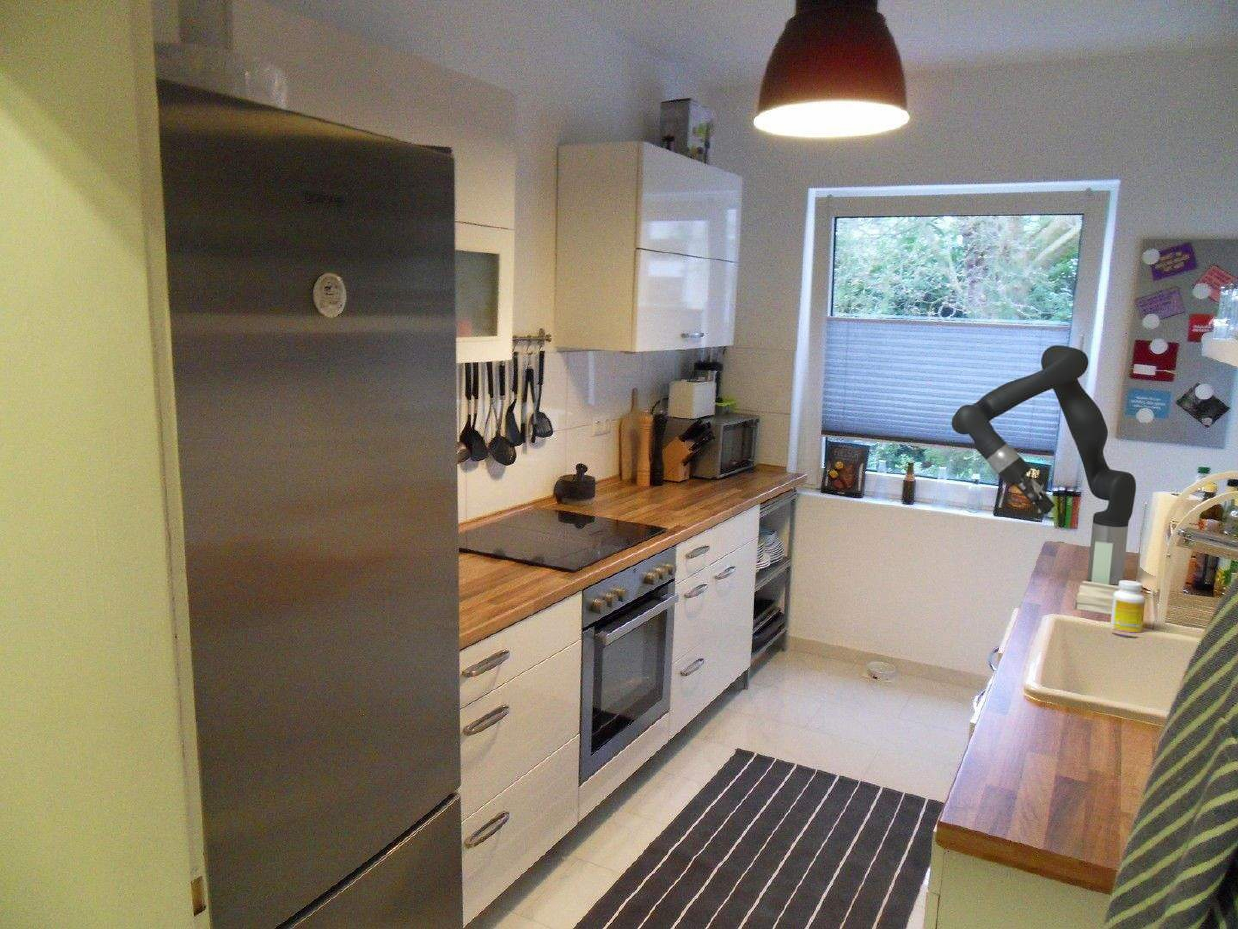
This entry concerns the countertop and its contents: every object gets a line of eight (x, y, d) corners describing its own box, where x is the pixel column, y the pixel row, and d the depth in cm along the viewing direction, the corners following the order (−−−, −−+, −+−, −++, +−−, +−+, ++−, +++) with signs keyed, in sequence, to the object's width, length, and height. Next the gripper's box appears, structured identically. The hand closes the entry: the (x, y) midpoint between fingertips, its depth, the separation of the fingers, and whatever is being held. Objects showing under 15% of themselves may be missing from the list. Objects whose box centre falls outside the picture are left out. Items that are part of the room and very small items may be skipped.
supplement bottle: (1145, 640, 204) (1151, 587, 203) (1115, 638, 206) (1120, 585, 204) (1135, 631, 211) (1140, 580, 209) (1105, 629, 212) (1110, 578, 211)
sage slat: (1090, 599, 232) (1095, 541, 230) (1107, 602, 230) (1113, 543, 228) (1089, 601, 231) (1095, 542, 228) (1106, 604, 228) (1112, 544, 226)
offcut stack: (1077, 602, 230) (1079, 580, 229) (1118, 608, 225) (1120, 586, 224) (1074, 609, 223) (1076, 586, 223) (1117, 615, 218) (1119, 592, 218)
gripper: (1015, 458, 231) (1059, 505, 226) (1023, 453, 243) (1065, 498, 238) (992, 475, 234) (1035, 522, 230) (1001, 470, 246) (1042, 514, 242)
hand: (1050, 510), depth 234 cm, fingers open, 8 cm apart
